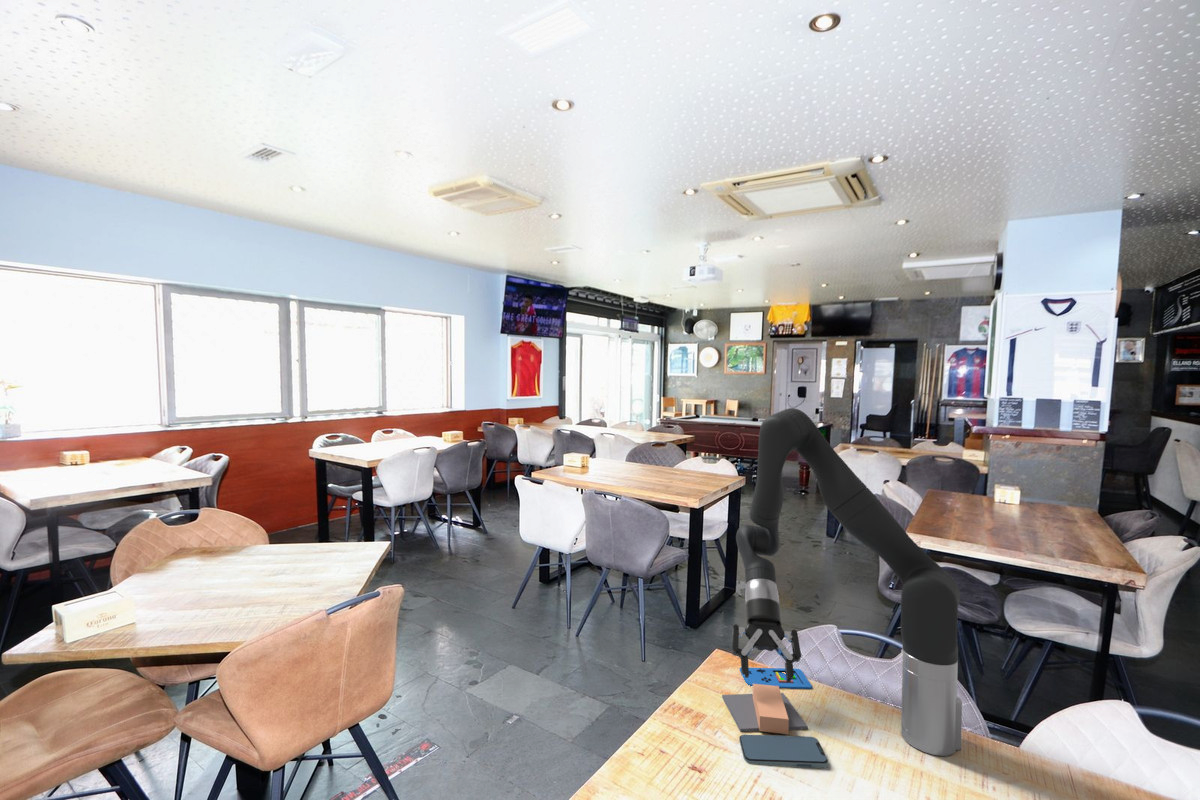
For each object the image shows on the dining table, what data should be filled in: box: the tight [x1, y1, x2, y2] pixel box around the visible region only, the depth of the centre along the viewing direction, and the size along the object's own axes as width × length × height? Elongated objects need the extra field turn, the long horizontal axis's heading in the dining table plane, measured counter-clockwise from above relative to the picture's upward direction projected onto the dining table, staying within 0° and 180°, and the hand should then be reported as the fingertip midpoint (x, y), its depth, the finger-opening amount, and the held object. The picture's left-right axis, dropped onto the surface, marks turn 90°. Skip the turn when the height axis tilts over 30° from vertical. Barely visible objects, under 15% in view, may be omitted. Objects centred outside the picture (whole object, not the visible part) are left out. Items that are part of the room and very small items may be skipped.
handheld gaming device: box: [739, 667, 813, 690], centre depth 127 cm, size 8×1×15 cm
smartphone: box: [738, 734, 829, 769], centre depth 101 cm, size 8×2×15 cm
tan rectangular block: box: [752, 684, 789, 735], centre depth 112 cm, size 6×3×12 cm
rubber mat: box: [721, 692, 809, 733], centre depth 113 cm, size 14×12×1 cm
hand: (767, 678), depth 113 cm, fingers open, 8 cm apart
